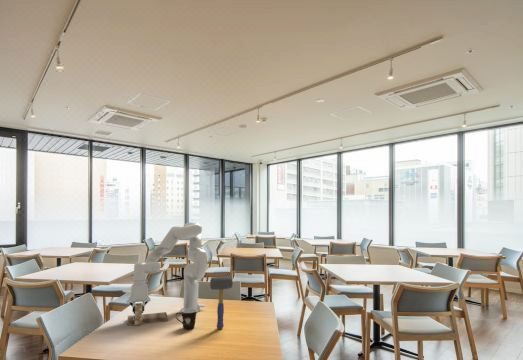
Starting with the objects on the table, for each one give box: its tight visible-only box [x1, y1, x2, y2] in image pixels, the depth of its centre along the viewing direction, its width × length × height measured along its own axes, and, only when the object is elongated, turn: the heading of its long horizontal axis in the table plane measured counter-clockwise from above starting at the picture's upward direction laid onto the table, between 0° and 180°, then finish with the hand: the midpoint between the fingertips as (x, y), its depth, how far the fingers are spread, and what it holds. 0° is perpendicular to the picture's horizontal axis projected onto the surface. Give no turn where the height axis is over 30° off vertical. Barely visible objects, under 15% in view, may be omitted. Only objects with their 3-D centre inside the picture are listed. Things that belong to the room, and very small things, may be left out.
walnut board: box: [127, 311, 169, 326], centre depth 204 cm, size 23×10×3 cm, turn 112°
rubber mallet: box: [209, 275, 234, 330], centre depth 193 cm, size 12×8×30 cm, turn 112°
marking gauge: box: [134, 302, 143, 326], centre depth 201 cm, size 4×14×10 cm, turn 22°
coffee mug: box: [175, 308, 198, 331], centre depth 192 cm, size 12×9×10 cm
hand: (138, 312), depth 202 cm, fingers closed on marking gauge, 4 cm apart
